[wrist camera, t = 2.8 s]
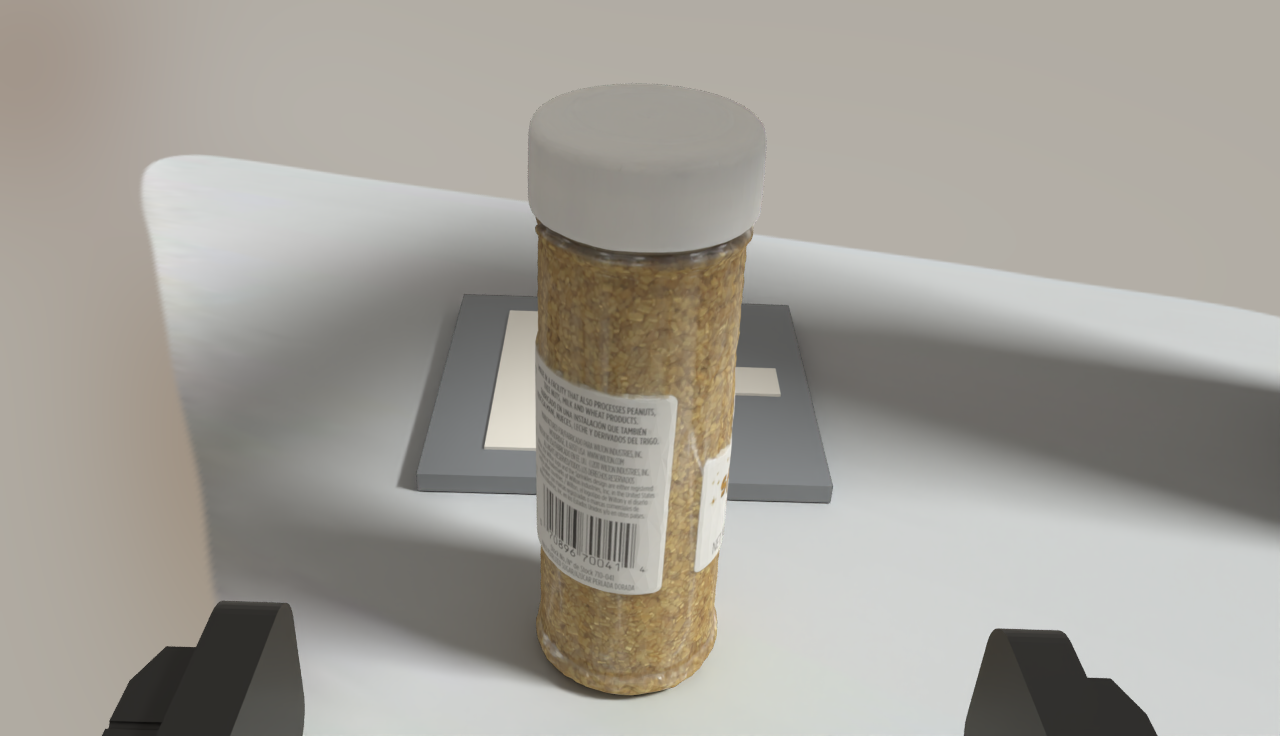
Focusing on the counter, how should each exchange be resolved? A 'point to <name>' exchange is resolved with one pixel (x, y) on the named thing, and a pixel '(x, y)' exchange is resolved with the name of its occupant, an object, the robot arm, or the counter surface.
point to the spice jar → (637, 370)
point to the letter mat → (506, 410)
